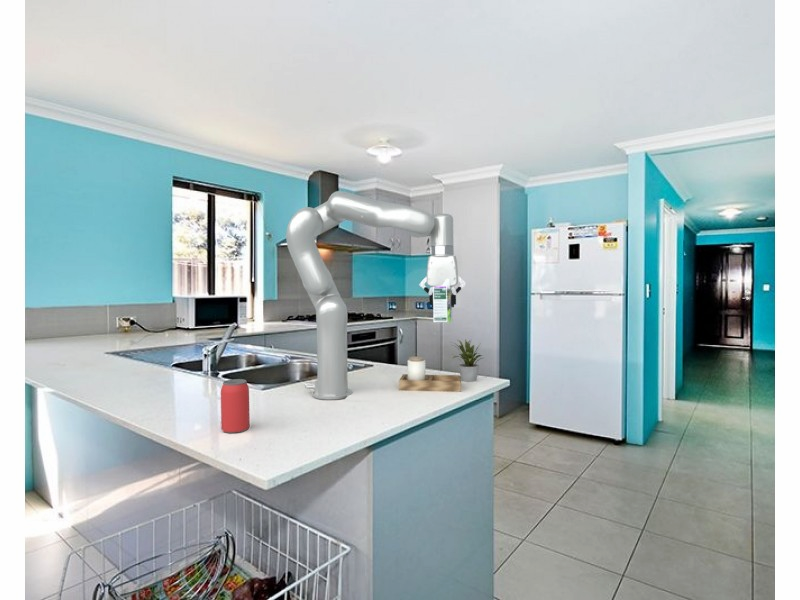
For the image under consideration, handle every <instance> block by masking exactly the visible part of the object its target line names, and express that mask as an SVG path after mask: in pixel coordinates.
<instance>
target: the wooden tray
mask: <svg viewBox="0 0 800 600" xmlns="http://www.w3.org/2000/svg"><path fill="white" fill-rule="evenodd" d="M398 391H410V392H411V391H415V392H445V393H446V392H447V393H448V392H449V393H451V392H454V393H461V391H462V381H461V375H460V374H459V375H456V374H455V375H454V374H452V375H451V374H450V375H449V374H425V380H408V373H407V374H404V373H403V374H402V375H401V376H400V378H399V380H398Z"/></svg>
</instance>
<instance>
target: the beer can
mask: <svg viewBox="0 0 800 600" xmlns="http://www.w3.org/2000/svg"><path fill="white" fill-rule="evenodd" d="M247 382H248V381H247V380H246V379H242V378H234V379H227V380H224V381H222V386H221V388H220V420H221V421H220V426H221V431H222V432H224V433H227V434H238V433H243V432H245V431H247V430H249V428H250V426H251V423H250V421H251V420H250V387H249V384H248V383H247Z"/></svg>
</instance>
